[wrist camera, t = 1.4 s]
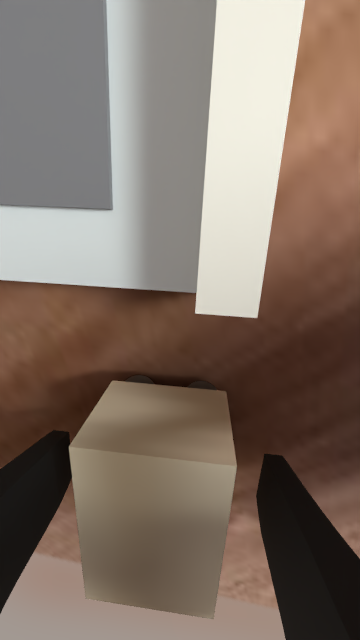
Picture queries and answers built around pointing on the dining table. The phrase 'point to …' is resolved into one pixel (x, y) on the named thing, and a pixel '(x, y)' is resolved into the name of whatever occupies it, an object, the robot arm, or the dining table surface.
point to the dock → (144, 143)
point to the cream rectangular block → (154, 495)
